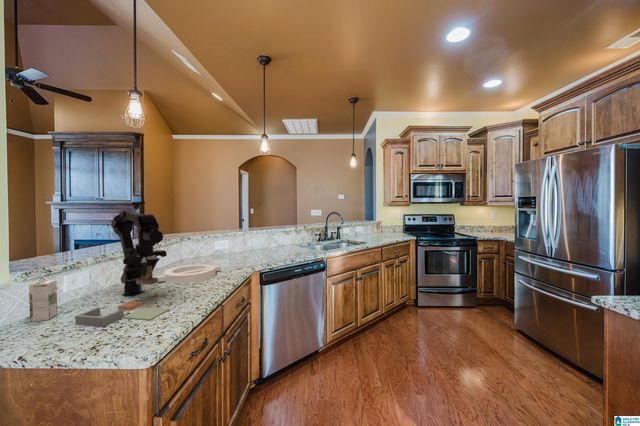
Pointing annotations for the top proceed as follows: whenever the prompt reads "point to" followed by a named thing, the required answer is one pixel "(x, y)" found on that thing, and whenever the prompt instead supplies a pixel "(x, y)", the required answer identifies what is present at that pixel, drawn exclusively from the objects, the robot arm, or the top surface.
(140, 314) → the mat
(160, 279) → the white circle with bar
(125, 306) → the tile
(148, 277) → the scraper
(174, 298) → the top surface
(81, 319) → the bay
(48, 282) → the syrup box
